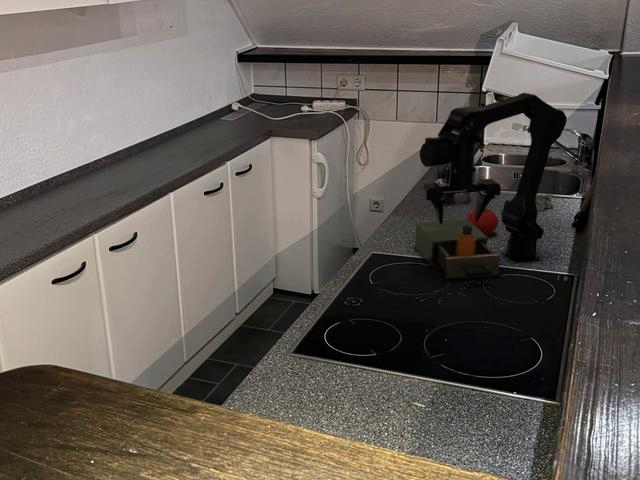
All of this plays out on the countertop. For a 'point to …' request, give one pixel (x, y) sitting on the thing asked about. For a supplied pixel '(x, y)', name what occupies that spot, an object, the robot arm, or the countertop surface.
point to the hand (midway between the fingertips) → (458, 222)
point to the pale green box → (441, 236)
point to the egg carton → (543, 201)
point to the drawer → (467, 261)
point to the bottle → (466, 242)
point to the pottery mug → (450, 196)
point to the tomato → (484, 221)
